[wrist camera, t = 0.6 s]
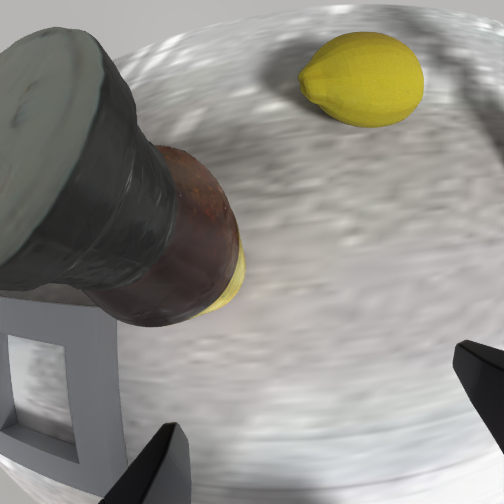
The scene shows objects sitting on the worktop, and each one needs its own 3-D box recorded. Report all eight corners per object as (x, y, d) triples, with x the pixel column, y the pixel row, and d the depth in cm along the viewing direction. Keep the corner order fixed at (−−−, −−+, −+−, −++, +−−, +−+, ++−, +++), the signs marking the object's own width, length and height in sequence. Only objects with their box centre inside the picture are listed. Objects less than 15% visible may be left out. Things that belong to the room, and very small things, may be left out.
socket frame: (131, 485, 20) (118, 501, 17) (5, 439, 20) (-12, 447, 17) (116, 307, 22) (97, 307, 19) (-10, 294, 23) (-30, 292, 20)
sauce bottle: (146, 277, 22) (-118, 201, 3) (196, 209, 23) (36, -21, 3) (217, 332, 22) (-13, 461, 2) (269, 260, 22) (290, 18, 3)
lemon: (393, 76, 25) (420, 20, 17) (419, 144, 23) (463, 94, 15) (284, 75, 25) (289, 9, 17) (300, 148, 24) (314, 85, 16)
